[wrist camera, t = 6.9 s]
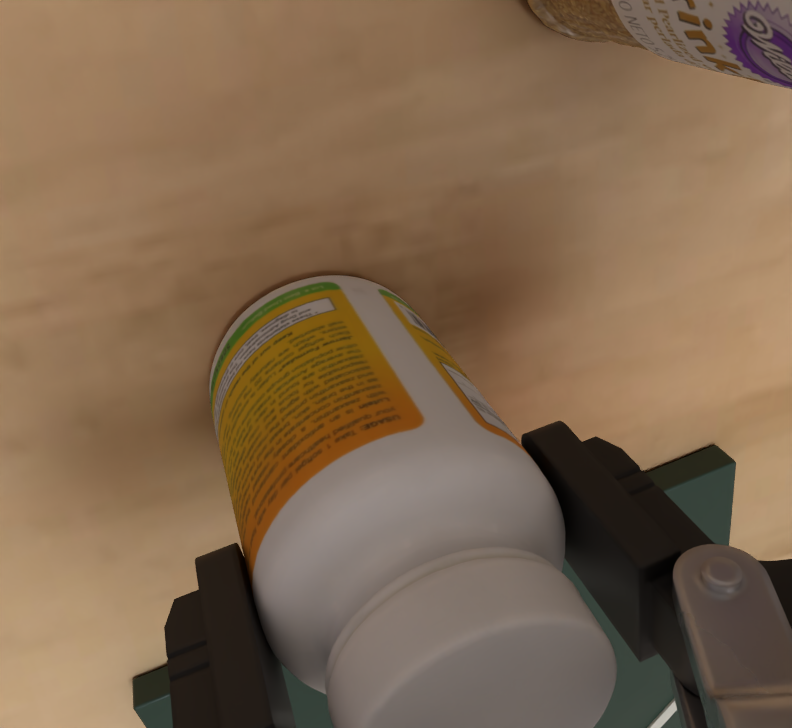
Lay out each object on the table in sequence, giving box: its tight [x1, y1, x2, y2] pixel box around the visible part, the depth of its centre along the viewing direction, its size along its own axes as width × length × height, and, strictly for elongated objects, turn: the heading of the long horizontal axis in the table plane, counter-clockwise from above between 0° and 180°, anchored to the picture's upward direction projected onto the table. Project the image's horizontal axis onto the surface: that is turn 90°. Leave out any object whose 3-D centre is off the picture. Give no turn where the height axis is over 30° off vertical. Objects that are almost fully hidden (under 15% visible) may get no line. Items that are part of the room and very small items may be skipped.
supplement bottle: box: [209, 275, 617, 728], centre depth 14 cm, size 5×5×10 cm
